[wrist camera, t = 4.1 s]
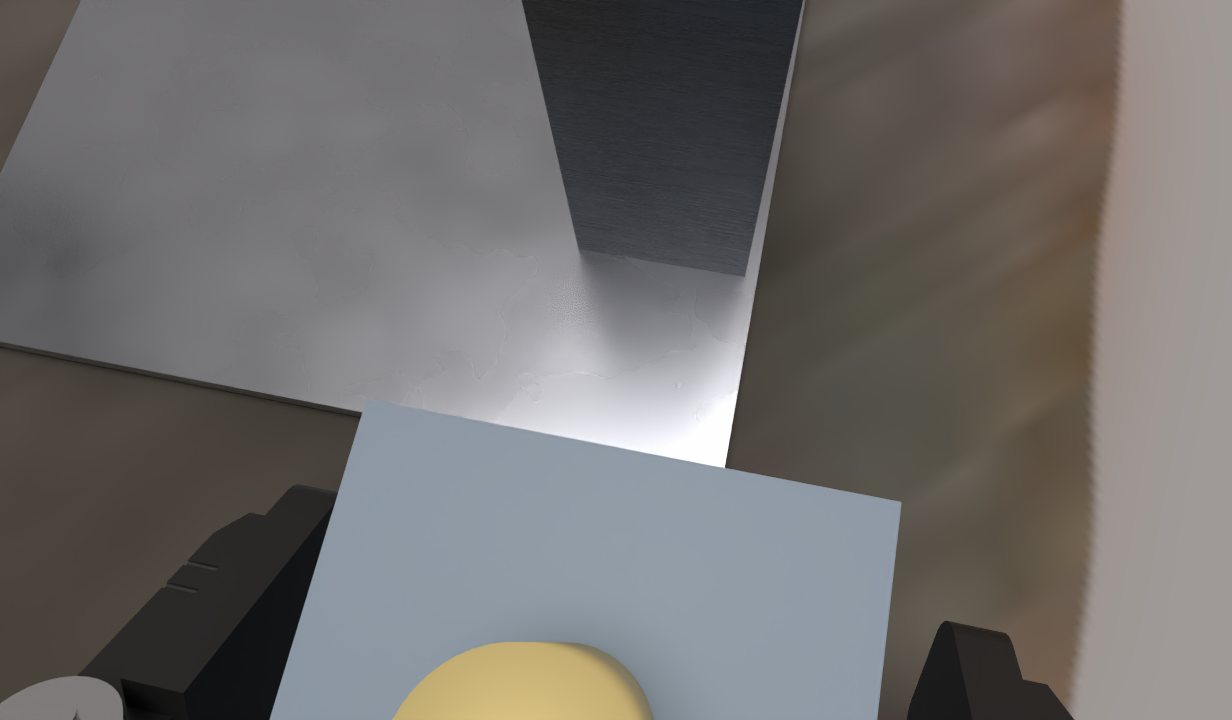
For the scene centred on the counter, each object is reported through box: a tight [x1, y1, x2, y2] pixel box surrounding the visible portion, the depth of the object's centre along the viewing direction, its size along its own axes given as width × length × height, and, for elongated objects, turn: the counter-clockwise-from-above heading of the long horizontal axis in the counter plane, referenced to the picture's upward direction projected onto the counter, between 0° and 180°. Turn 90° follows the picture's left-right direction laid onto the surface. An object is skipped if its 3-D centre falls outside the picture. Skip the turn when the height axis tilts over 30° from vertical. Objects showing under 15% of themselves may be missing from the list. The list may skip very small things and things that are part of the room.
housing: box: [270, 399, 901, 720], centre depth 10 cm, size 5×5×12 cm
